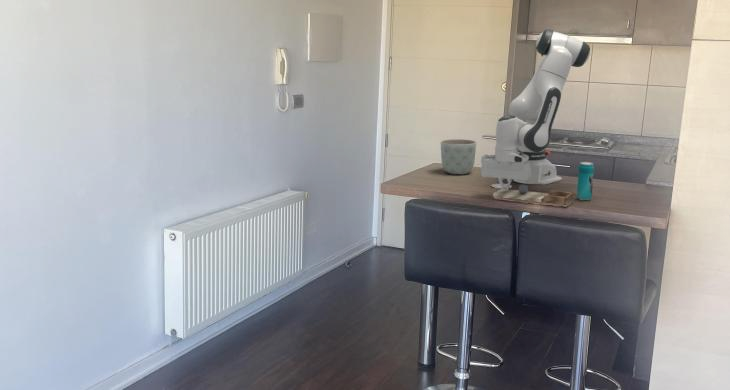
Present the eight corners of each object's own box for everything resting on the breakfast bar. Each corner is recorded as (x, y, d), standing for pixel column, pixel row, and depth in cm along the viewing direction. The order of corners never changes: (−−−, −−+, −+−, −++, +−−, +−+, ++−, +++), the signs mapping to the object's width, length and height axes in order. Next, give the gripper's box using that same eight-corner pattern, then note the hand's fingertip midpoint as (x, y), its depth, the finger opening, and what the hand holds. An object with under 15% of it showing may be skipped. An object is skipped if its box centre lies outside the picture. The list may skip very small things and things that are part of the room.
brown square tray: (541, 204, 283) (541, 195, 282) (548, 199, 291) (548, 190, 290) (566, 207, 278) (567, 197, 277) (573, 202, 286) (573, 192, 285)
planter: (466, 177, 334) (466, 145, 331) (433, 174, 343) (434, 142, 340) (481, 171, 348) (482, 140, 345) (449, 168, 357) (450, 138, 354)
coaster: (499, 183, 321) (499, 182, 321) (515, 187, 314) (515, 185, 314) (486, 186, 315) (486, 185, 315) (503, 190, 308) (503, 188, 308)
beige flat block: (492, 199, 292) (493, 193, 292) (501, 194, 301) (501, 188, 300) (541, 204, 283) (541, 198, 282) (548, 199, 291) (548, 193, 290)
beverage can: (589, 201, 287) (591, 164, 284) (575, 200, 290) (577, 163, 287) (593, 198, 292) (595, 162, 288) (579, 197, 295) (581, 161, 291)
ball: (523, 192, 293) (523, 182, 292) (530, 194, 290) (530, 184, 289) (515, 193, 291) (516, 183, 290) (522, 195, 288) (523, 185, 287)
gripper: (479, 155, 293) (478, 188, 296) (528, 158, 284) (527, 192, 287) (483, 152, 298) (482, 185, 302) (532, 156, 289) (531, 189, 293)
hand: (504, 189), depth 294 cm, fingers closed
